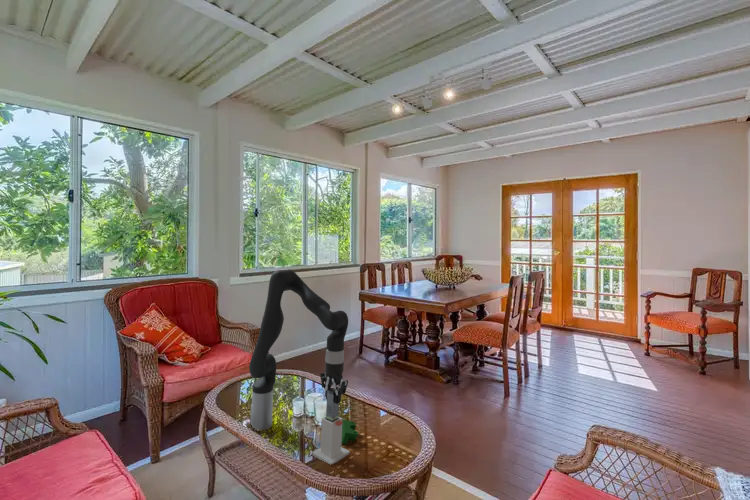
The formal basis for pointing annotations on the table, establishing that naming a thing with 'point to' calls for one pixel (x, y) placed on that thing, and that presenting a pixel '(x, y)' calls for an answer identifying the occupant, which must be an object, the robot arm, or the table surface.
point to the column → (332, 406)
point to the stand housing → (331, 442)
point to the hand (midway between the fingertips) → (332, 400)
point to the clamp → (348, 431)
